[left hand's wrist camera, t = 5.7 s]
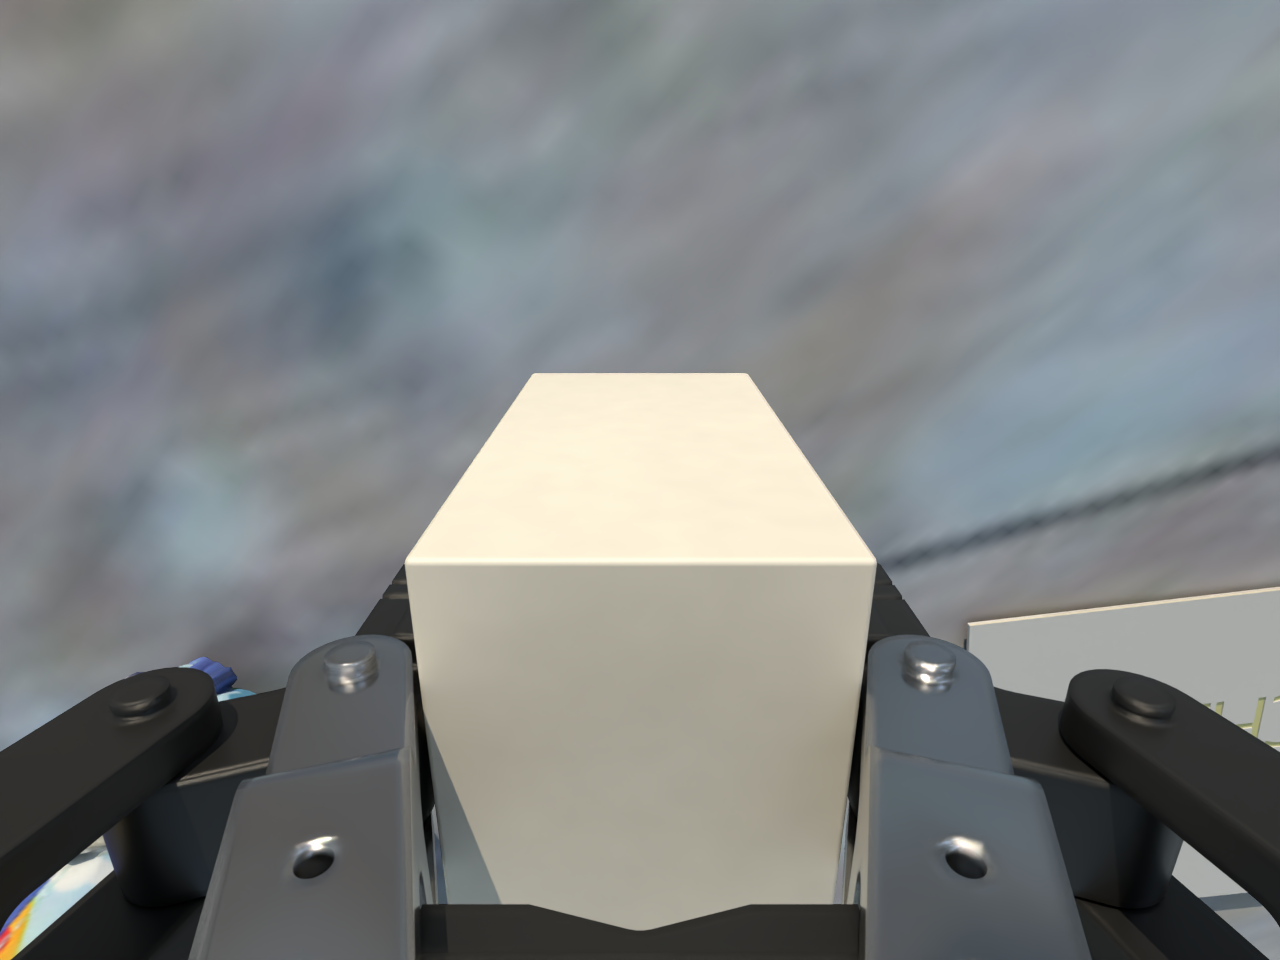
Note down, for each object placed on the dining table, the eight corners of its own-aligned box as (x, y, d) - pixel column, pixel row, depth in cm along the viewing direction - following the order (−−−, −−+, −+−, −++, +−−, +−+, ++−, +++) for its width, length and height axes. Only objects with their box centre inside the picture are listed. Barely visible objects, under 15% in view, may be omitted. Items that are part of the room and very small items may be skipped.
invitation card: (1575, 557, 25) (1462, 872, 30) (1565, 553, 26) (1455, 866, 31) (970, 627, 26) (959, 924, 31) (967, 623, 26) (956, 918, 31)
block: (748, 372, 15) (879, 559, 7) (736, 595, 16) (829, 956, 8) (532, 372, 15) (401, 559, 7) (543, 595, 16) (452, 956, 8)
